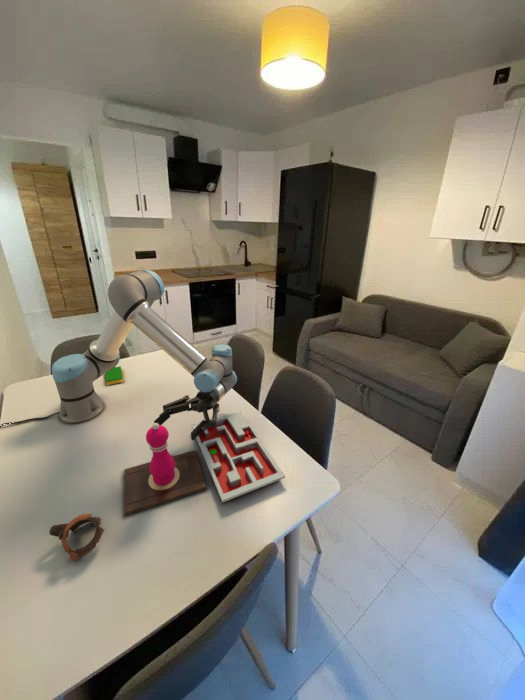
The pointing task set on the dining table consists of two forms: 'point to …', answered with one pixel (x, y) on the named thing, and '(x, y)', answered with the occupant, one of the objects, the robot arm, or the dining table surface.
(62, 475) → the dining table surface
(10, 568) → the dining table surface
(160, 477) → the pepper mill
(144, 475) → the board
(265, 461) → the maze game
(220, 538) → the dining table surface
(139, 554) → the dining table surface
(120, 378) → the dish sponge
